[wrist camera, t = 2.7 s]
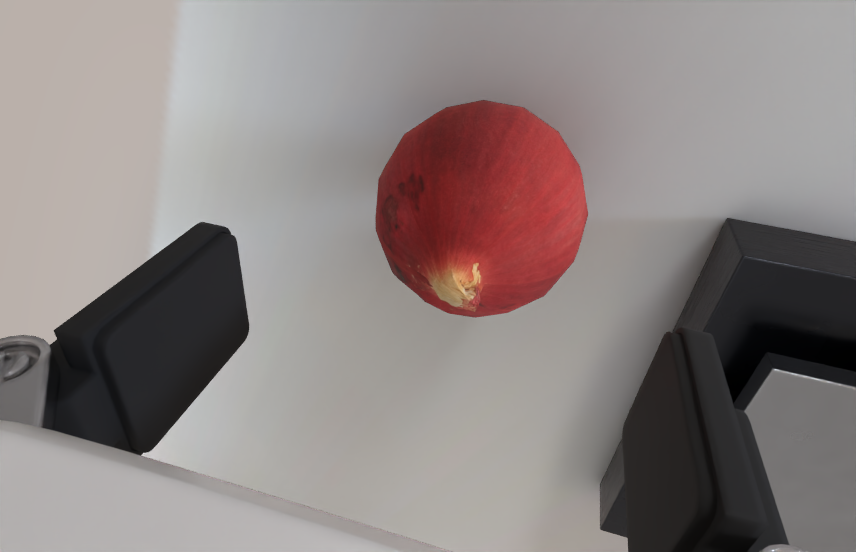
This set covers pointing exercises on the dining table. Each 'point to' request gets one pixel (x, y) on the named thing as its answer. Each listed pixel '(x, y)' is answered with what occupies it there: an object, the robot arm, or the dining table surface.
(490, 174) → the onion
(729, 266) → the scale
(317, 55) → the dining table surface
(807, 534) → the scale pan
